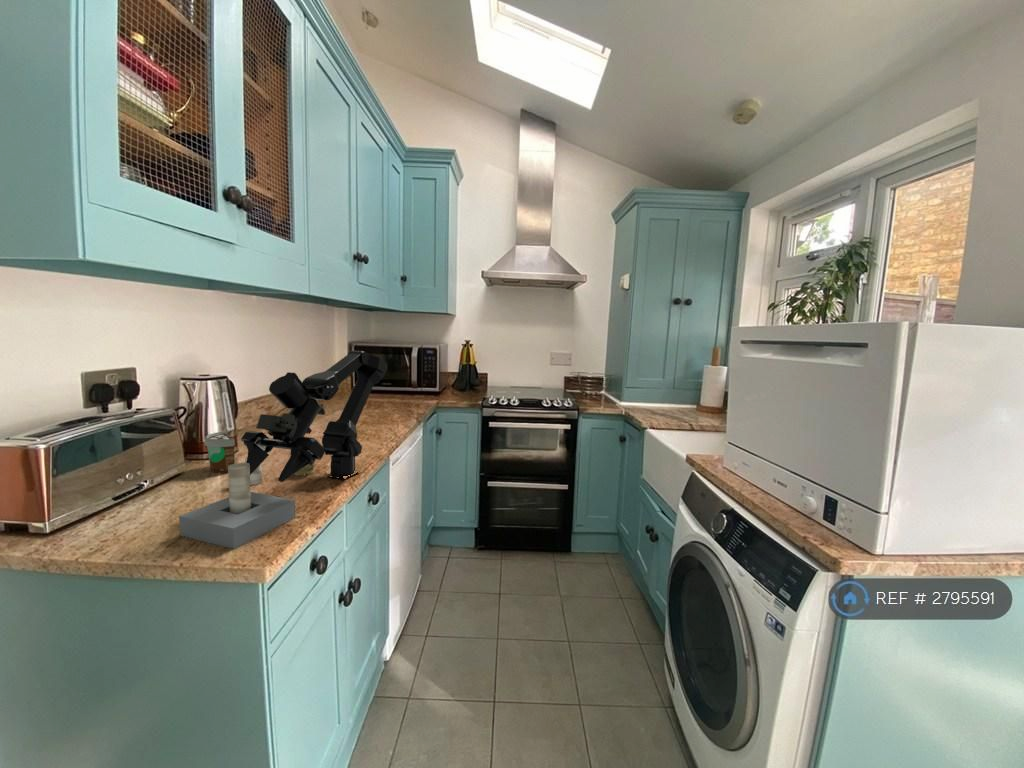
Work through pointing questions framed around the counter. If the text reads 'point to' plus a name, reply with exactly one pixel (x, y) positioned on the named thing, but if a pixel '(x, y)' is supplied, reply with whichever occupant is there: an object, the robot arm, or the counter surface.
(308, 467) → the chocolate bunny
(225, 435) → the food container
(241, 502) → the long pin
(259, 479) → the short pin
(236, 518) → the socket block
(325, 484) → the counter surface
